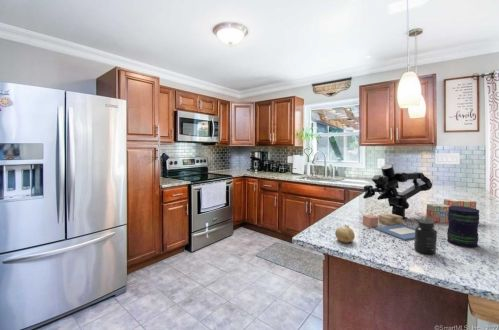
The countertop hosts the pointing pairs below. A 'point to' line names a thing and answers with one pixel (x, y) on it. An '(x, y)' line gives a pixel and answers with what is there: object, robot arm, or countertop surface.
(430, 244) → the supplement bottle
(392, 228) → the board
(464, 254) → the countertop surface
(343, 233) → the onion
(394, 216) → the oak brick
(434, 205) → the stack of blocks
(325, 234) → the countertop surface
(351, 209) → the countertop surface
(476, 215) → the storage jar
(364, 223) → the terracotta cube
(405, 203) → the robot arm
